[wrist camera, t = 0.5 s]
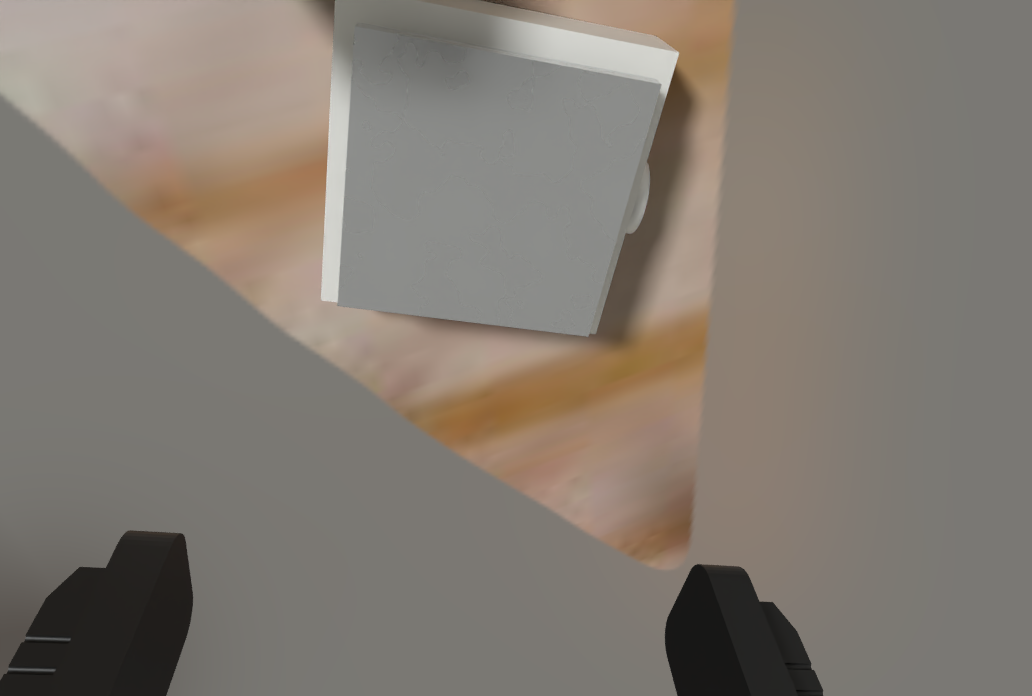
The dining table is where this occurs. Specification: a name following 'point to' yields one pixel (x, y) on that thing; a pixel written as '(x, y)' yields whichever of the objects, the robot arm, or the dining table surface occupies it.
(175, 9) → the dining table surface
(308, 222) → the dining table surface
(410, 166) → the pan
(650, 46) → the white square slab
